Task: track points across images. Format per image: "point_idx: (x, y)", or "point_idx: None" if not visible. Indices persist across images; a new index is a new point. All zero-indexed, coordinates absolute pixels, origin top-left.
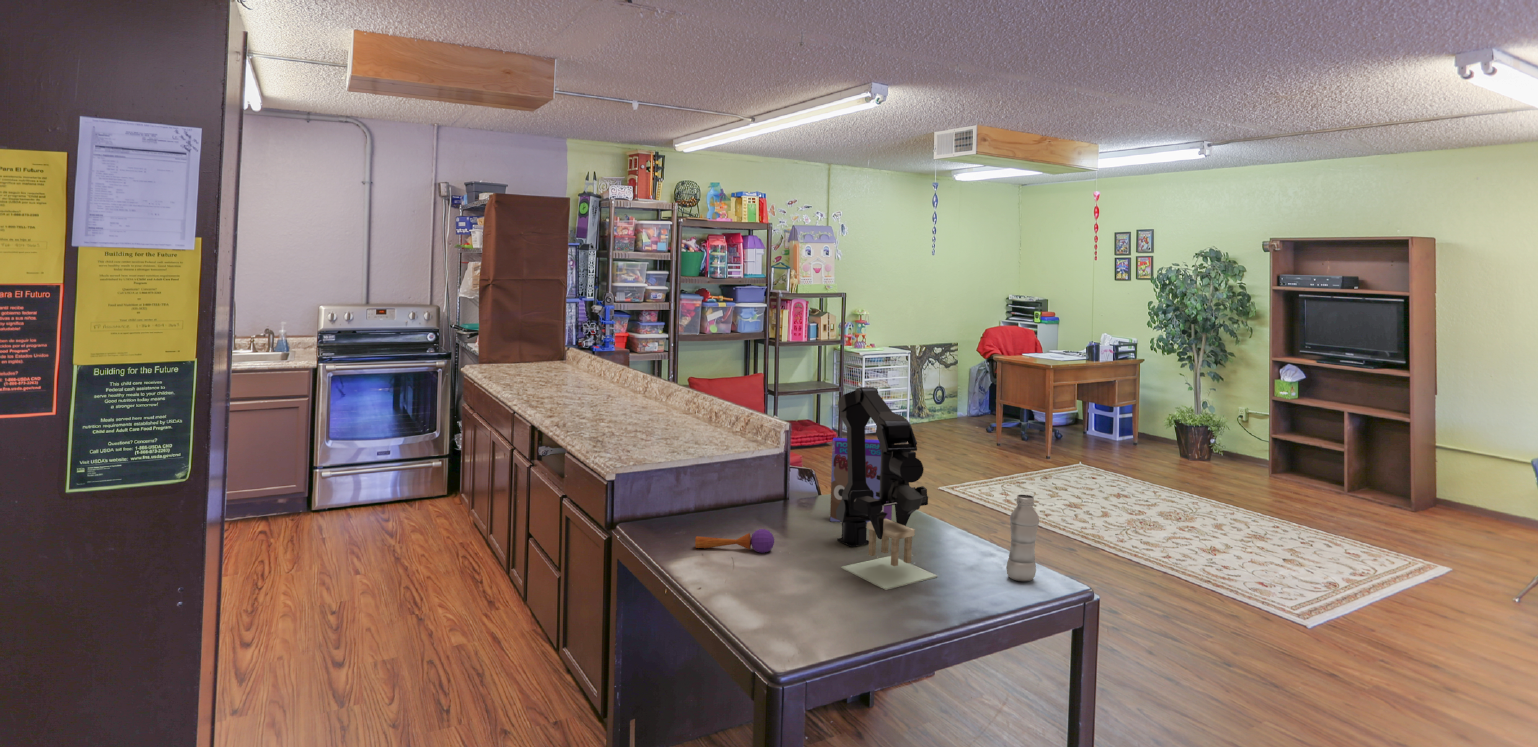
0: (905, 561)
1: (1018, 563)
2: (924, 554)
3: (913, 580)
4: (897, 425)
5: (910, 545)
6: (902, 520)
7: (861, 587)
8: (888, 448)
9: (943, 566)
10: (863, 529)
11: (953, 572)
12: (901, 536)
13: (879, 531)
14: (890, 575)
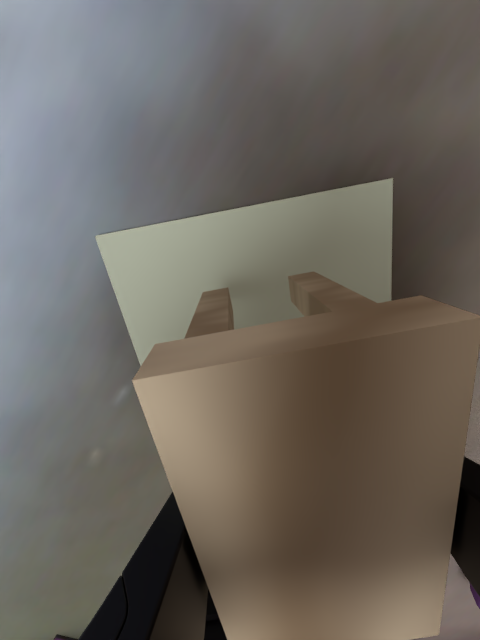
0: (230, 300)
1: None
2: (47, 449)
3: (228, 219)
4: None
5: (202, 319)
6: (176, 605)
7: (451, 240)
8: None
9: (21, 333)
10: (211, 611)
11: (2, 261)
12: (342, 317)
13: (477, 467)
14: (285, 301)
